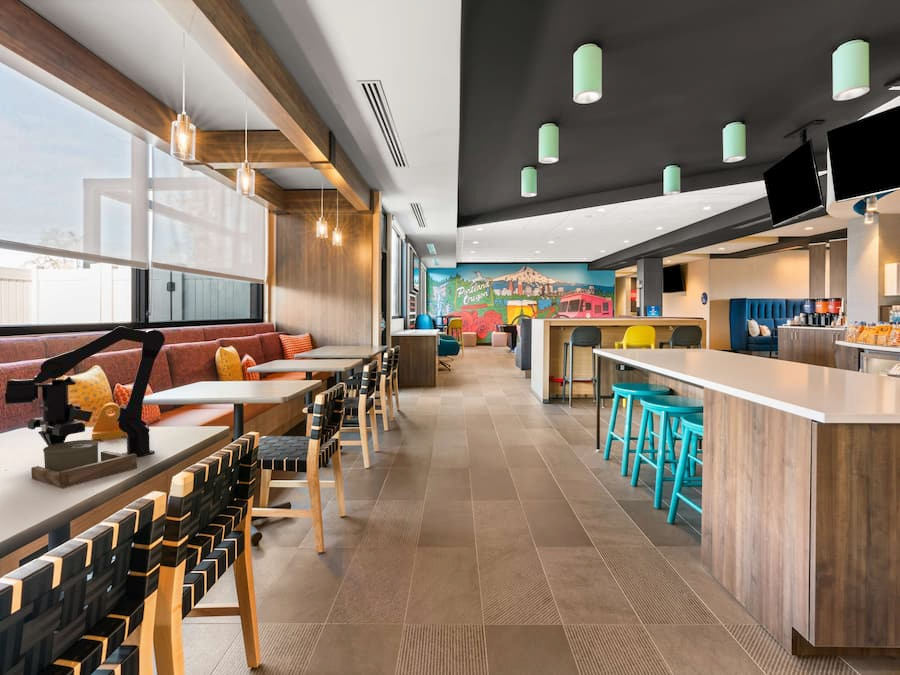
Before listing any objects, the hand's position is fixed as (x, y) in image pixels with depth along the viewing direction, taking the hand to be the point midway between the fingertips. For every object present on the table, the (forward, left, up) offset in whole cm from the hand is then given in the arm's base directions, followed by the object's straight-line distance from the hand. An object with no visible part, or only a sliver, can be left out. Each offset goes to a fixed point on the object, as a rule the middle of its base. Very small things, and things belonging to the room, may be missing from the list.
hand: (56, 455), depth 134 cm
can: (-8, 0, -3) cm, 9 cm away
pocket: (-14, 0, -3) cm, 15 cm away
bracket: (+21, -25, -3) cm, 33 cm away
